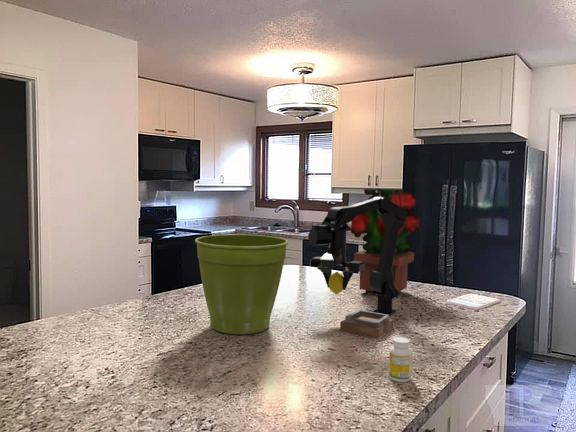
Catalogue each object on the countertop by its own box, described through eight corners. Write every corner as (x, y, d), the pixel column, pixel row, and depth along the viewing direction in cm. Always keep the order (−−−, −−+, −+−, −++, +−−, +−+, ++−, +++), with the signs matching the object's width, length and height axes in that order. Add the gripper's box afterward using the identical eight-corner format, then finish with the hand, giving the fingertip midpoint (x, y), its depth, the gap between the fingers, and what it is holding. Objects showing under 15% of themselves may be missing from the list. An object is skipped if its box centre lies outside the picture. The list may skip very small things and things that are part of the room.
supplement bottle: (404, 384, 115) (406, 345, 114) (384, 378, 118) (386, 340, 118) (414, 377, 119) (416, 339, 118) (395, 371, 122) (396, 334, 122)
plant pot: (176, 334, 149) (176, 241, 146) (221, 310, 176) (222, 232, 174) (265, 347, 138) (266, 248, 136) (298, 320, 166) (300, 237, 164)
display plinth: (356, 321, 166) (357, 308, 166) (393, 328, 159) (393, 314, 159) (340, 331, 155) (340, 317, 155) (378, 338, 148) (378, 324, 148)
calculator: (500, 303, 198) (500, 298, 198) (476, 311, 184) (477, 306, 184) (469, 297, 208) (469, 292, 208) (445, 304, 194) (445, 299, 194)
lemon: (343, 296, 164) (344, 273, 163) (327, 295, 165) (327, 272, 164) (345, 293, 169) (345, 270, 169) (329, 292, 170) (329, 269, 170)
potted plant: (416, 291, 213) (420, 189, 210) (399, 301, 195) (403, 190, 192) (369, 285, 225) (372, 188, 222) (349, 293, 207) (352, 188, 203)
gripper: (302, 244, 164) (301, 289, 165) (352, 249, 154) (351, 297, 155) (318, 240, 173) (317, 283, 175) (366, 245, 163) (365, 290, 165)
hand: (336, 288), depth 167 cm, fingers closed on lemon, 5 cm apart
